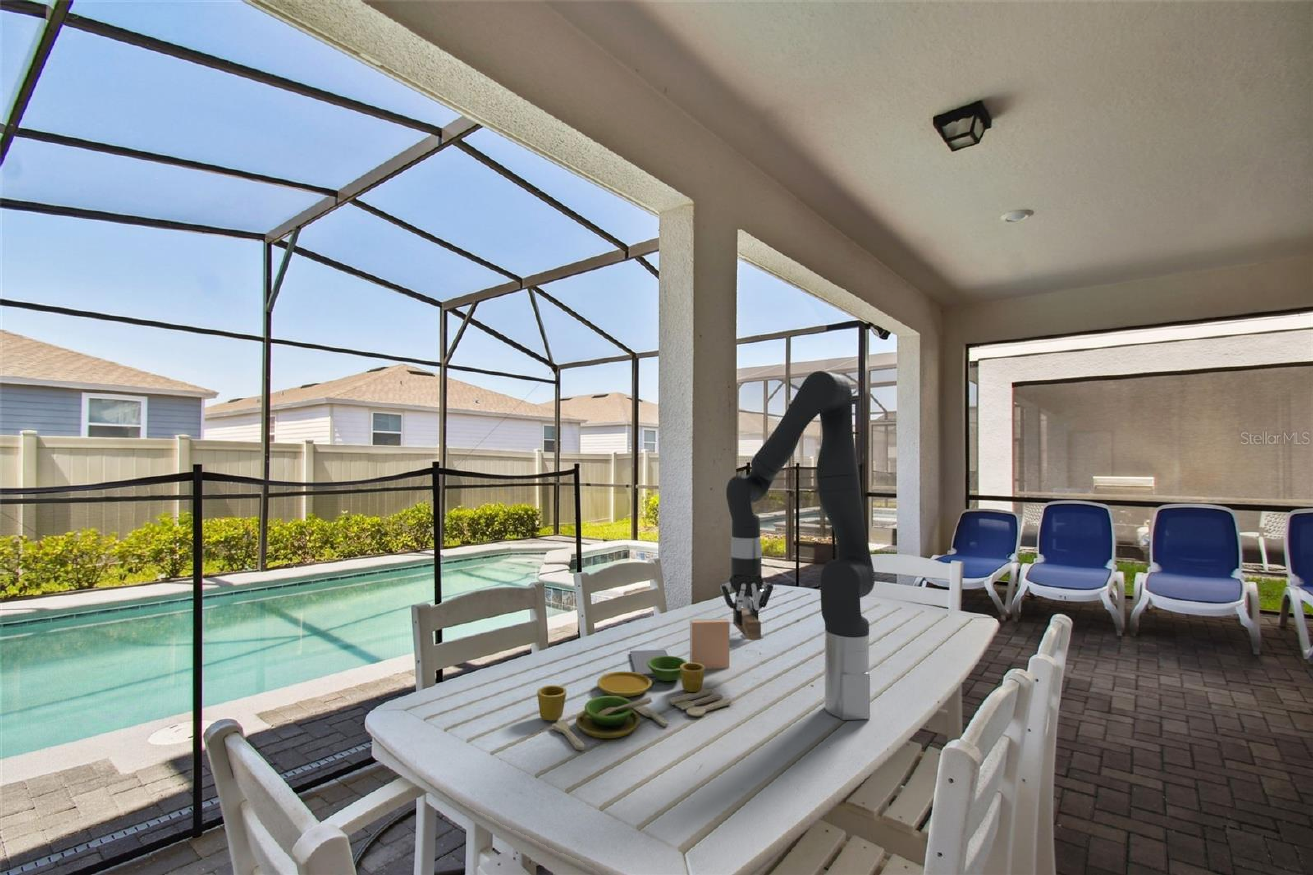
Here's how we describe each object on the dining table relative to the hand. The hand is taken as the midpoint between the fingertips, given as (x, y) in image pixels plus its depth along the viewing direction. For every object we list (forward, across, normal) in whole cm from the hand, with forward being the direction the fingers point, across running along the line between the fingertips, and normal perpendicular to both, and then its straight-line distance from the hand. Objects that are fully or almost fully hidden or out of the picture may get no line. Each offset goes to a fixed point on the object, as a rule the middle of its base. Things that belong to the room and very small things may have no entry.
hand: (746, 624), depth 146 cm
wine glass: (+13, +12, +35) cm, 40 cm away
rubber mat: (+13, -22, +13) cm, 29 cm away
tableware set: (+13, -30, -12) cm, 35 cm away
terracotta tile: (+13, -7, +10) cm, 18 cm away
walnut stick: (+2, 0, 0) cm, 2 cm away
